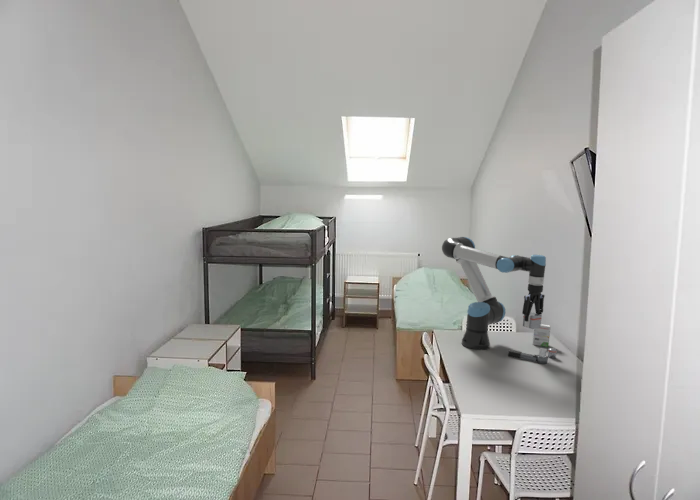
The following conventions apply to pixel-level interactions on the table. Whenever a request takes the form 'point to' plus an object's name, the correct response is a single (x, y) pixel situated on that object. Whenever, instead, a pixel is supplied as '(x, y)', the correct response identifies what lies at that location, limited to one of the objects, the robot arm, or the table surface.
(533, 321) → the socket
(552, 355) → the socket small
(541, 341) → the ink box
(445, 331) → the table surface
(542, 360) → the ratchet
